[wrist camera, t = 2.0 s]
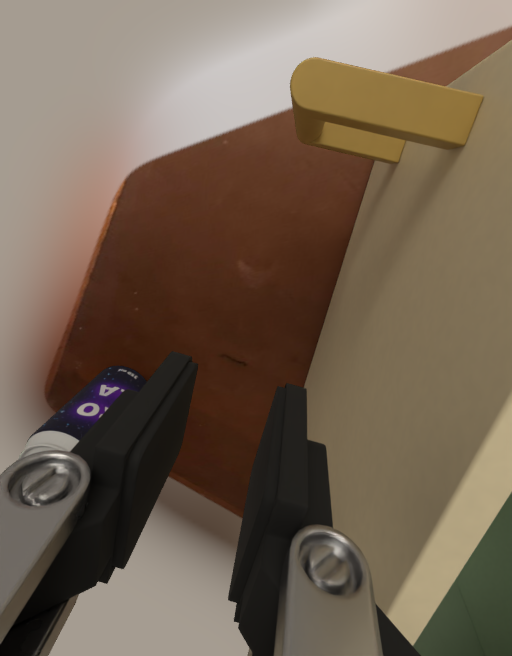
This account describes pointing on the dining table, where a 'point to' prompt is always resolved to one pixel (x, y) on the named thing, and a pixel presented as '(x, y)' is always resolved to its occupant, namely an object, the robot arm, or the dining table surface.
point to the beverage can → (83, 410)
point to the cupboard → (477, 600)
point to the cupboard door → (416, 322)
